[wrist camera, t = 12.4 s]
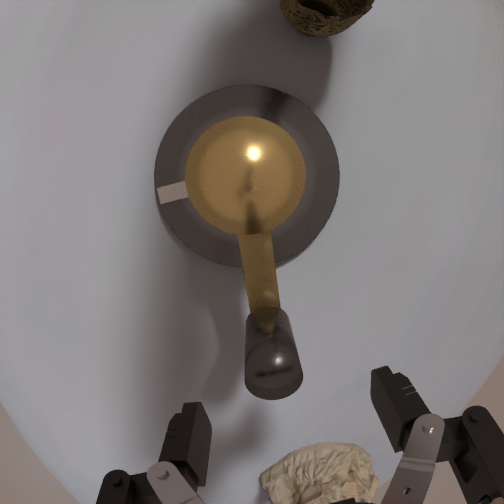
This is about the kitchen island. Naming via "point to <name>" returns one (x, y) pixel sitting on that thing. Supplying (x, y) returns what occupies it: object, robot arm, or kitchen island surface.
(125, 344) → the kitchen island surface
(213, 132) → the gold lever handle
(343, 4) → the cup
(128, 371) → the kitchen island surface
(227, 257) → the post base
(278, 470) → the ceramic cottage
